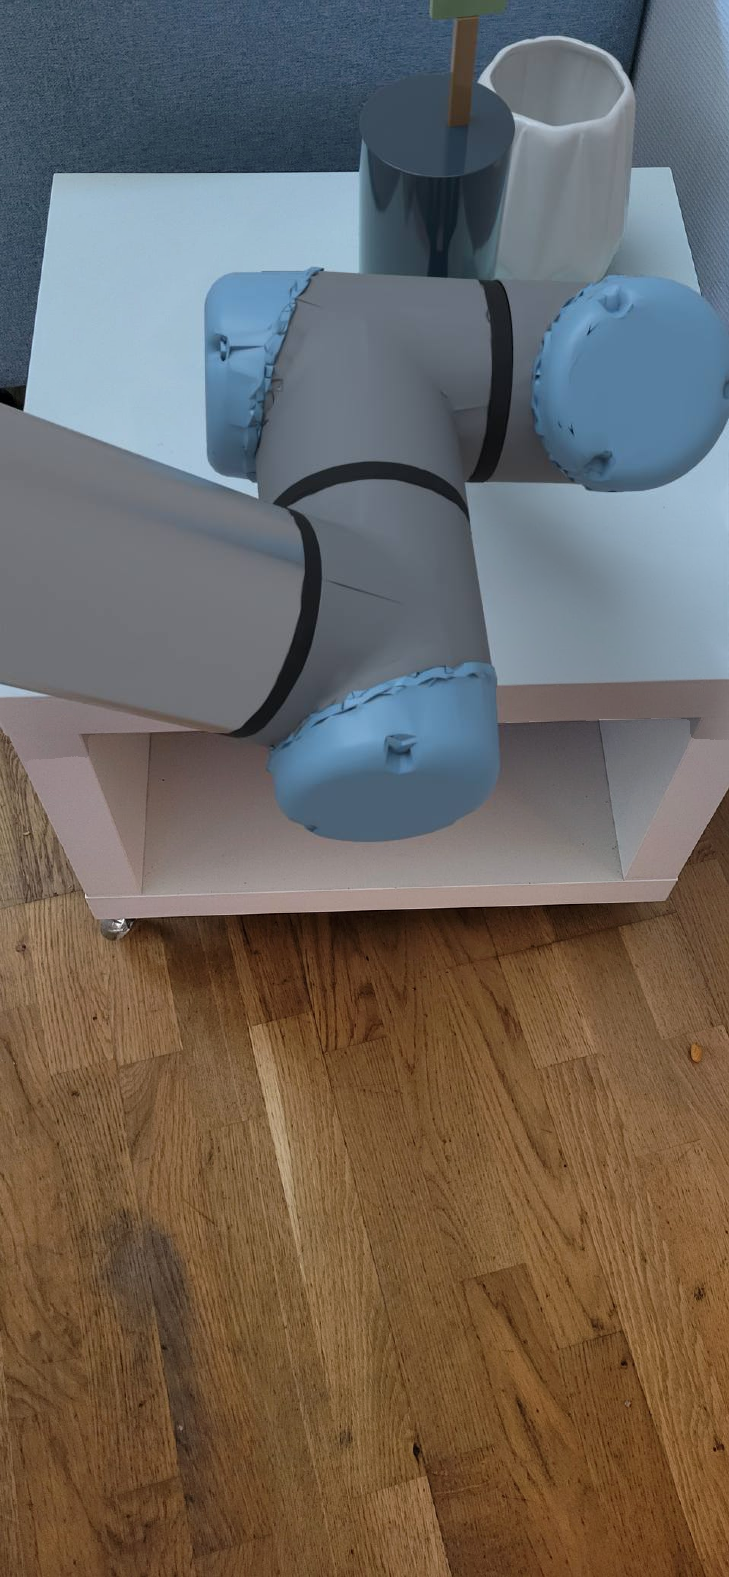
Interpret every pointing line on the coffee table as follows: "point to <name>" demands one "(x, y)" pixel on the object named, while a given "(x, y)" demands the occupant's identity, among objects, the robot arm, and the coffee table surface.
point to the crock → (436, 165)
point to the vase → (564, 158)
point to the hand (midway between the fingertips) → (436, 384)
